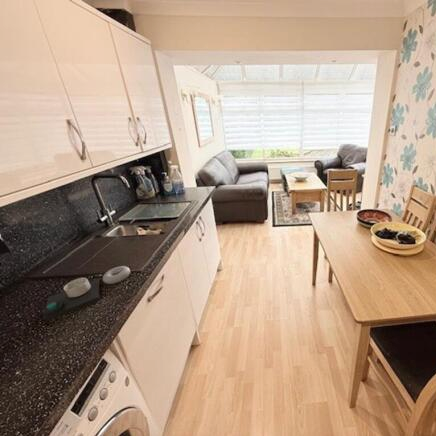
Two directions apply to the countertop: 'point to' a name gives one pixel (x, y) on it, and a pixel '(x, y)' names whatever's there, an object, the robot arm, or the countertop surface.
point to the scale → (71, 301)
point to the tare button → (52, 306)
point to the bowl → (77, 287)
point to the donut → (116, 275)
